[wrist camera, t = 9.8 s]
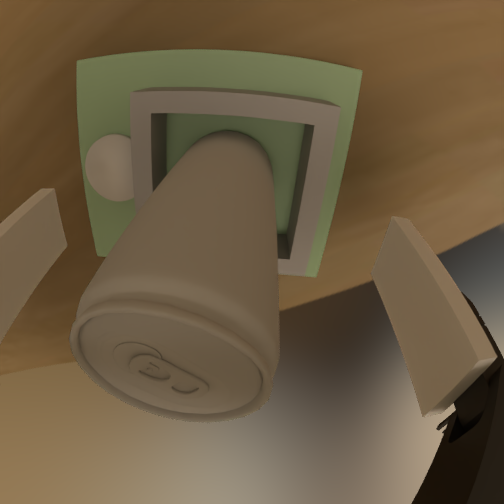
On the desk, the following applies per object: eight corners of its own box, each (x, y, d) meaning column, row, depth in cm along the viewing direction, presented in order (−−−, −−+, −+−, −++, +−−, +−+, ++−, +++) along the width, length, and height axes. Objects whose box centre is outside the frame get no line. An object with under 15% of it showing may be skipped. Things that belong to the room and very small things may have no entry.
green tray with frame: (105, 243, 20) (82, 278, 17) (90, 59, 13) (50, 63, 10) (313, 263, 21) (321, 303, 18) (353, 69, 13) (380, 72, 10)
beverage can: (223, 109, 14) (107, 249, 4) (293, 171, 15) (328, 386, 6) (167, 175, 16) (47, 359, 6) (232, 227, 18) (195, 435, 8)
